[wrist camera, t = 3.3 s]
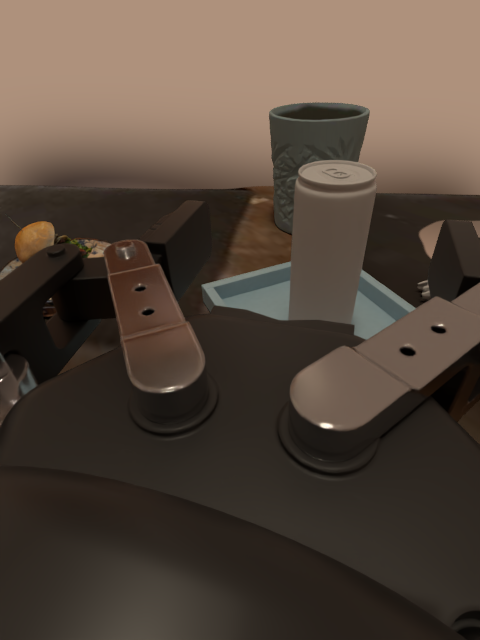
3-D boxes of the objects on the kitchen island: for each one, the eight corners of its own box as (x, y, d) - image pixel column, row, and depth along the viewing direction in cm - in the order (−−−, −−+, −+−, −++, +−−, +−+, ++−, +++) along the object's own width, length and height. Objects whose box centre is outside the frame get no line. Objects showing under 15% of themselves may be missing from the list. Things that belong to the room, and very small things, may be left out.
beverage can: (309, 356, 28) (327, 191, 20) (275, 320, 31) (280, 167, 24) (362, 335, 29) (397, 175, 22) (324, 303, 33) (344, 155, 25)
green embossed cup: (285, 245, 42) (290, 123, 34) (256, 210, 49) (255, 105, 42) (369, 231, 44) (391, 113, 36) (328, 200, 52) (340, 97, 44)
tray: (203, 301, 34) (201, 284, 33) (332, 266, 38) (334, 249, 37) (292, 439, 23) (294, 420, 22) (462, 367, 27) (471, 348, 26)
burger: (118, 314, 33) (95, 233, 28) (-23, 324, 33) (-70, 243, 28) (137, 248, 42) (122, 180, 38) (28, 255, 42) (-1, 186, 37)
